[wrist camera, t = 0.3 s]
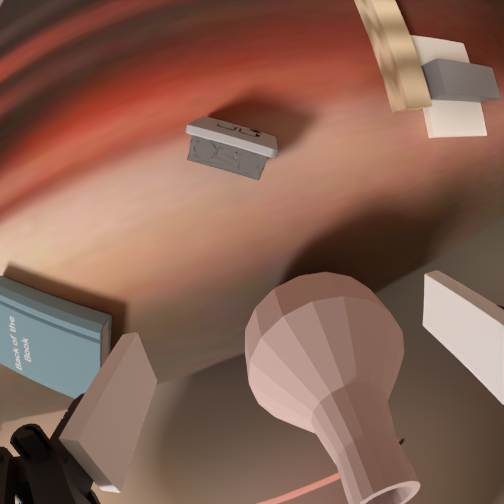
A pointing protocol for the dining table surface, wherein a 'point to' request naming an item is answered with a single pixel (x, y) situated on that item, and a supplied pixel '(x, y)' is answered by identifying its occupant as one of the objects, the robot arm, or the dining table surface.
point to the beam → (395, 55)
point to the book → (51, 338)
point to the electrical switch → (230, 146)
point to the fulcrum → (454, 88)
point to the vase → (334, 377)
